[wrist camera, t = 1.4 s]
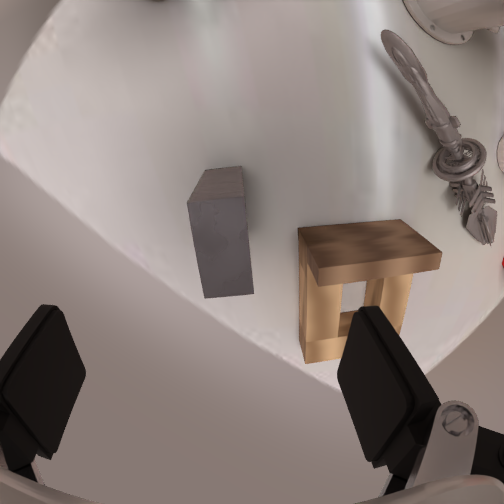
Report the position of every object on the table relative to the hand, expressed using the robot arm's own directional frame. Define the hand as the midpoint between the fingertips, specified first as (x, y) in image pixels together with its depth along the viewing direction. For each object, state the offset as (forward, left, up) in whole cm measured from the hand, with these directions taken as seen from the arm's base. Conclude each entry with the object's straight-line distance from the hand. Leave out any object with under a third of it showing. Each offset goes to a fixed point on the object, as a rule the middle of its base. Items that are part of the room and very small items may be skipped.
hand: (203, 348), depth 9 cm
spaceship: (-28, -2, -27) cm, 39 cm away
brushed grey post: (0, +3, -26) cm, 27 cm away
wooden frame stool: (-15, +16, -26) cm, 34 cm away
